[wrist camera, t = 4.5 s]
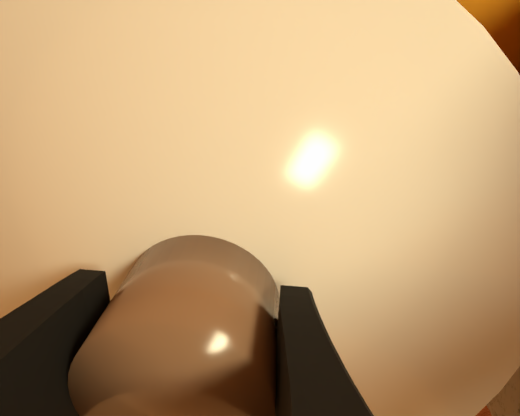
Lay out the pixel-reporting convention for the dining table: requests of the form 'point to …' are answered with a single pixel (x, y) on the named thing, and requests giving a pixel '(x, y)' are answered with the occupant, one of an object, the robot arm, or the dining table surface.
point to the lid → (265, 195)
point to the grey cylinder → (507, 398)
